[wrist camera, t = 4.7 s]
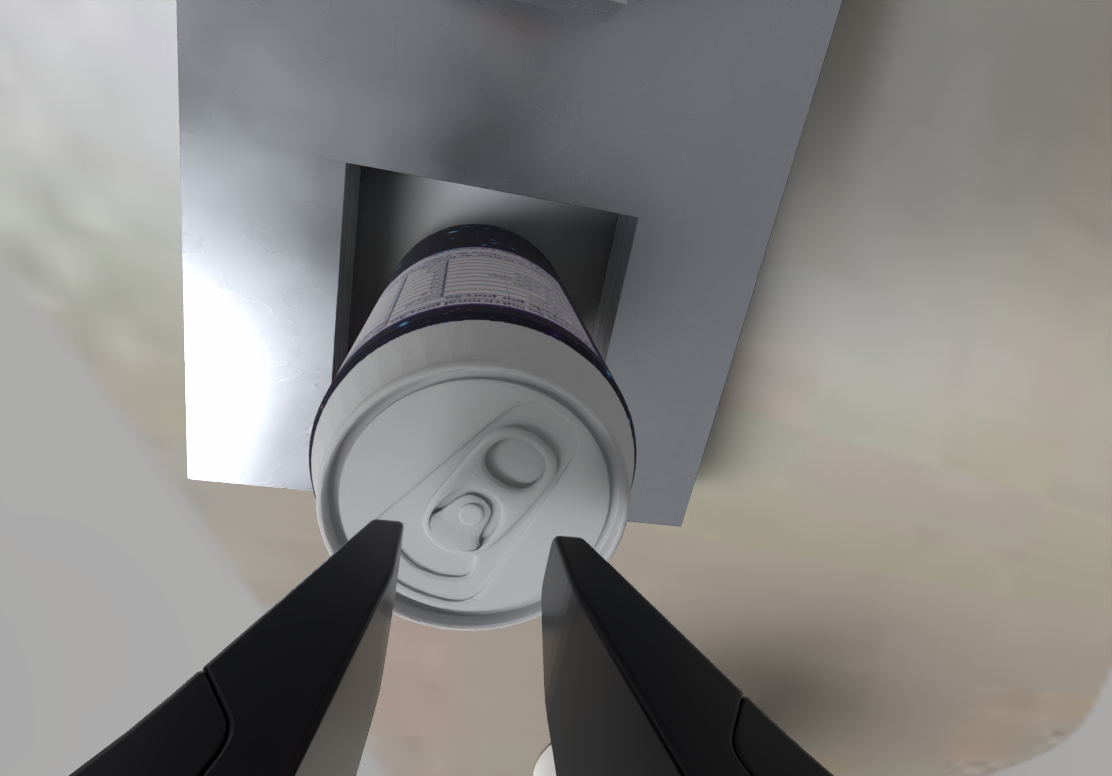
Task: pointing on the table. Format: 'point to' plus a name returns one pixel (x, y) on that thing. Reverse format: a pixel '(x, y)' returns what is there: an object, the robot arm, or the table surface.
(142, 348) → the table surface
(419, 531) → the beverage can
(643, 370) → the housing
